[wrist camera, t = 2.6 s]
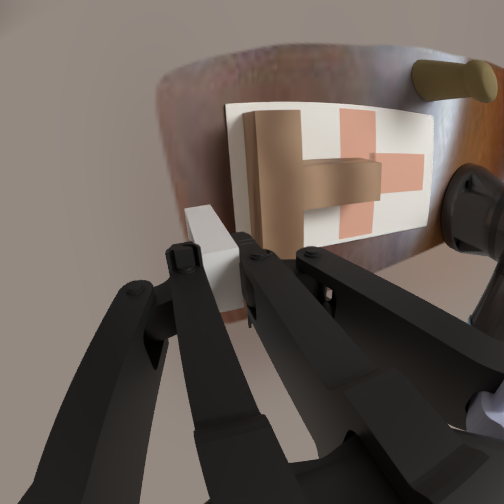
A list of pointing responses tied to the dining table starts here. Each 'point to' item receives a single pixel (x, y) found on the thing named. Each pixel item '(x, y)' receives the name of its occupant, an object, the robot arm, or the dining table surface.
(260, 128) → the t block
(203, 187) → the dining table surface
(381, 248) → the dining table surface
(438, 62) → the olive pepper mill
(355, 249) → the dining table surface
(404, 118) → the mat
